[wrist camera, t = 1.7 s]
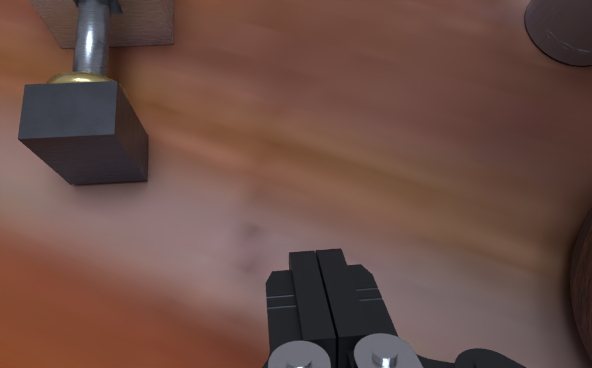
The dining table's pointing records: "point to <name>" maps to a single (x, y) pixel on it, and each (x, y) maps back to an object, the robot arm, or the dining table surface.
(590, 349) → the wooden bowl
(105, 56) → the dark boxy piece
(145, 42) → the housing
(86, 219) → the dining table surface
